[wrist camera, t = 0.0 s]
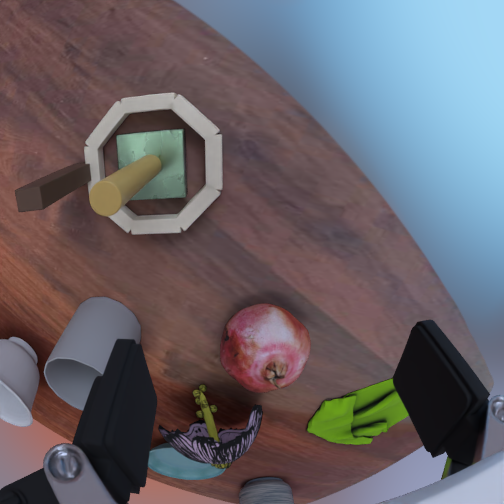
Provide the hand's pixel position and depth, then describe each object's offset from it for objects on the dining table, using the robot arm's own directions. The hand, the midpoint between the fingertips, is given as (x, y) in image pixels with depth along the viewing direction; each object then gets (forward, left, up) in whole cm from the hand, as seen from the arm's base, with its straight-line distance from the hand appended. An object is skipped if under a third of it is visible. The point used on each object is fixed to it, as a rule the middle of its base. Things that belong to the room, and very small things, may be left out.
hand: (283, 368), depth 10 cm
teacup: (+21, -34, -20) cm, 45 cm away
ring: (-4, -8, -20) cm, 22 cm away
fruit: (+14, +2, -20) cm, 25 cm away
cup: (+14, -16, -20) cm, 30 cm away
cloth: (+37, +21, -20) cm, 47 cm away
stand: (-4, -8, -20) cm, 22 cm away
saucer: (+45, -11, -20) cm, 51 cm away
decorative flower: (+28, -4, -20) cm, 35 cm away
